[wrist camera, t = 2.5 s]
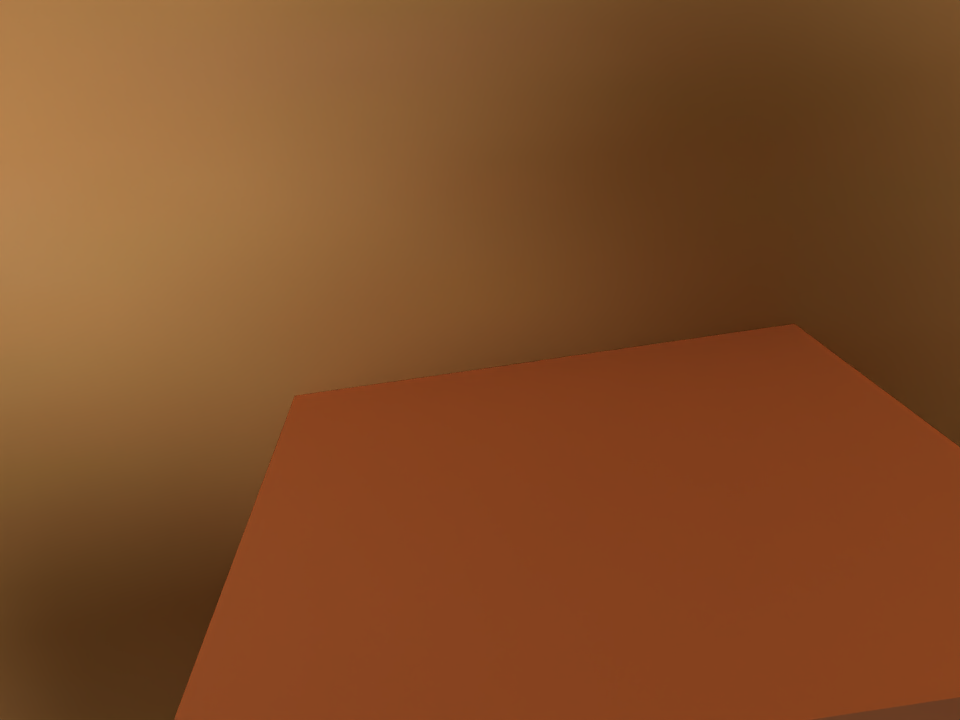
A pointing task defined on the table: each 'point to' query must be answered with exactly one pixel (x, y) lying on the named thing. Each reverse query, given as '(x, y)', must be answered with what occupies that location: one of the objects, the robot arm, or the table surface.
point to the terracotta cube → (599, 547)
